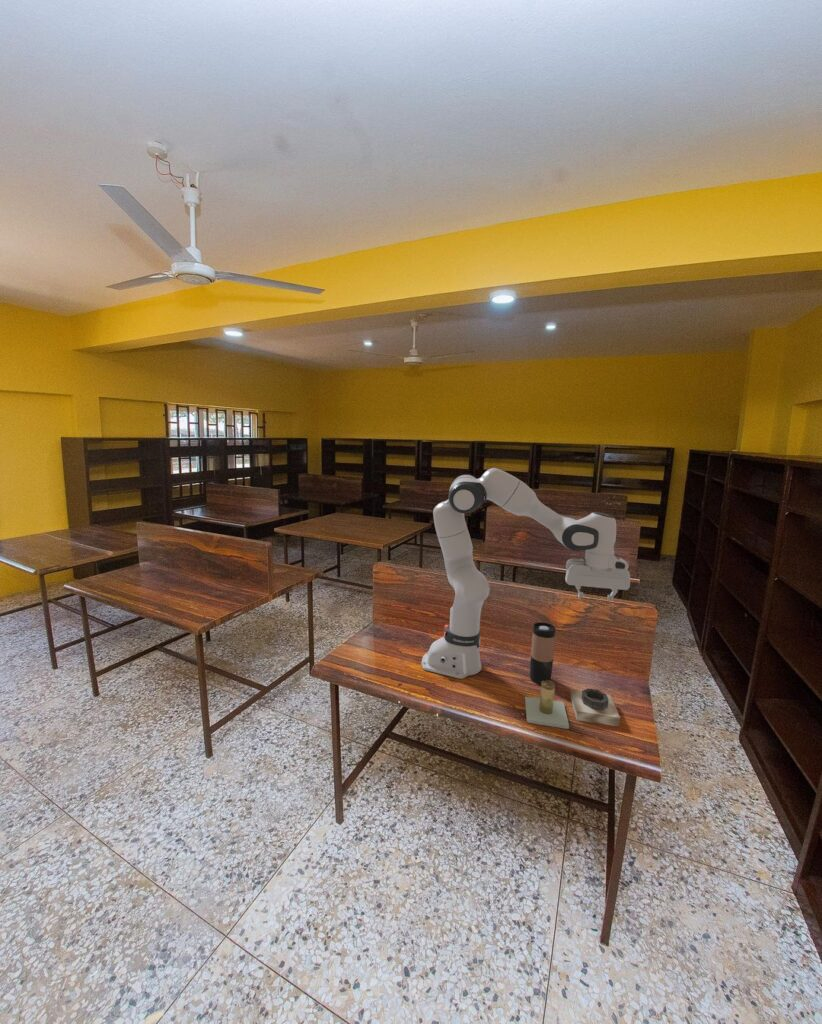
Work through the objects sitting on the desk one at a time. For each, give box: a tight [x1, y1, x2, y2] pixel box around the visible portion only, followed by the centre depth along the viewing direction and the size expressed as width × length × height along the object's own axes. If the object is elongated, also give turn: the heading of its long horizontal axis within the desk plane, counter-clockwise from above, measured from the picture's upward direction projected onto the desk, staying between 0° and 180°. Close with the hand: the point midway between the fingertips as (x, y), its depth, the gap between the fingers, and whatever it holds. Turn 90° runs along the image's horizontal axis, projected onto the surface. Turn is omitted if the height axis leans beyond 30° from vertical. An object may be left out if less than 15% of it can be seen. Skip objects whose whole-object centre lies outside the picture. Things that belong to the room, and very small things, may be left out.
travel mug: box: [529, 621, 556, 686], centre depth 148 cm, size 8×8×20 cm
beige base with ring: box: [570, 688, 621, 727], centre depth 132 cm, size 12×12×6 cm
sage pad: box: [524, 696, 570, 730], centre depth 130 cm, size 12×12×1 cm
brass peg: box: [539, 680, 556, 714], centre depth 130 cm, size 4×4×9 cm
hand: (595, 599), depth 143 cm, fingers open, 8 cm apart
